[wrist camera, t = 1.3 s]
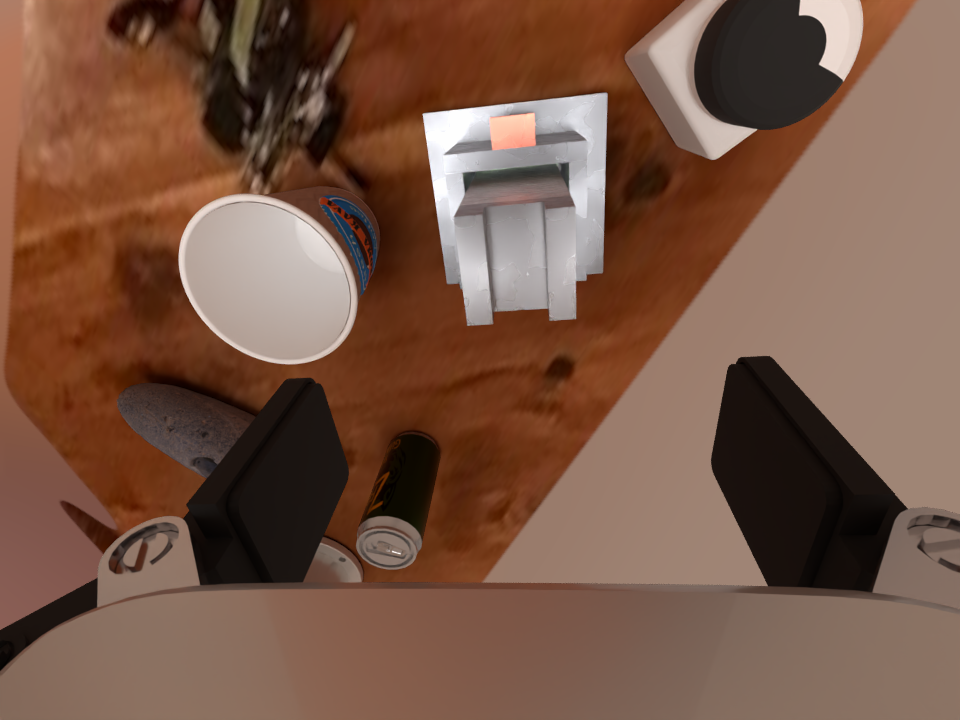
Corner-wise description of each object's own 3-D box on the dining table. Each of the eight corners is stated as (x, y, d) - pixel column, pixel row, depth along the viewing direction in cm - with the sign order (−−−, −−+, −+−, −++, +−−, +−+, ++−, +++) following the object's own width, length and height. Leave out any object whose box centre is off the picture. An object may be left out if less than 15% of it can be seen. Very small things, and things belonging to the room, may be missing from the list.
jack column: (556, 232, 35) (578, 320, 22) (485, 238, 35) (465, 327, 22) (554, 155, 32) (578, 203, 19) (478, 163, 33) (450, 214, 20)
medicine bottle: (677, 149, 33) (750, 178, 22) (621, 56, 30) (672, 41, 20) (780, 70, 30) (916, 62, 20) (727, -38, 28) (850, -113, 17)
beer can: (448, 439, 47) (428, 539, 37) (432, 476, 50) (408, 578, 40) (397, 422, 47) (361, 518, 36) (383, 460, 49) (346, 559, 39)
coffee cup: (419, 277, 39) (383, 346, 29) (308, 304, 41) (236, 379, 31) (372, 144, 34) (308, 170, 24) (248, 183, 36) (139, 222, 26)
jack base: (599, 266, 37) (617, 307, 30) (449, 277, 39) (434, 319, 32) (603, 92, 31) (627, 94, 25) (426, 112, 33) (401, 119, 26)
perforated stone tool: (140, 391, 47) (84, 435, 41) (151, 353, 45) (94, 394, 39) (281, 458, 50) (248, 509, 44) (298, 426, 48) (266, 475, 42)
